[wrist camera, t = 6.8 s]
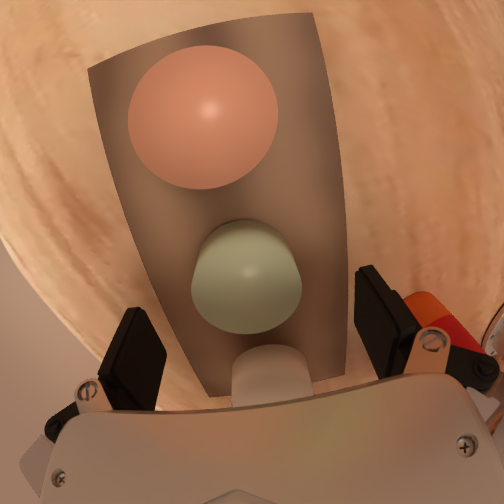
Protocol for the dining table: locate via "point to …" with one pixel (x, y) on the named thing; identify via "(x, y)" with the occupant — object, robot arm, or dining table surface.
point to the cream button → (270, 376)
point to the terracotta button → (202, 117)
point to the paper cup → (440, 320)
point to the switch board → (242, 195)
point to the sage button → (246, 278)
